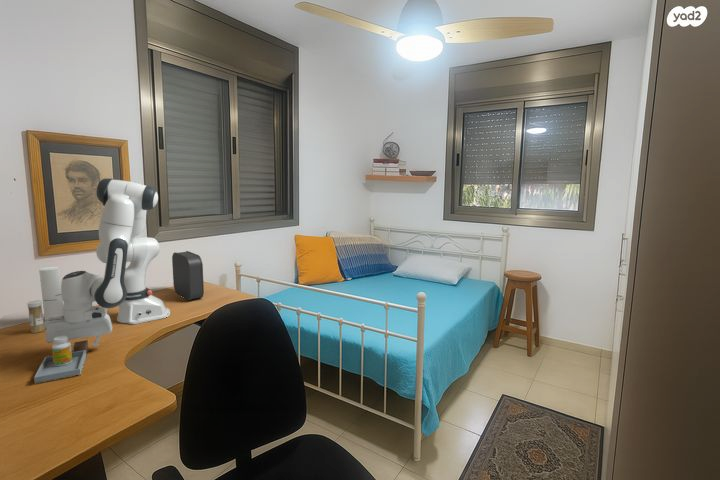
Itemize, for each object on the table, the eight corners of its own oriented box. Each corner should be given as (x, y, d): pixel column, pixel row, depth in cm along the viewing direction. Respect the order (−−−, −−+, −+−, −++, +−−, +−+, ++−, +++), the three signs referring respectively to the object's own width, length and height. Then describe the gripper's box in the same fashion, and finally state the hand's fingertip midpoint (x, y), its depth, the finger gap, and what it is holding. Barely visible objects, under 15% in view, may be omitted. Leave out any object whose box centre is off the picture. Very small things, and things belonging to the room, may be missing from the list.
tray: (86, 355, 140) (85, 349, 139) (80, 375, 126) (79, 369, 126) (45, 362, 134) (45, 356, 133) (34, 384, 120) (34, 377, 120)
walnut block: (88, 349, 145) (87, 340, 144) (87, 353, 141) (86, 344, 141) (75, 351, 143) (74, 342, 142) (74, 356, 139) (73, 346, 139)
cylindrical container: (68, 318, 174) (63, 267, 170) (51, 324, 168) (45, 271, 164) (58, 316, 177) (52, 266, 172) (41, 321, 170) (35, 269, 166)
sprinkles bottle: (43, 332, 159) (40, 302, 157) (29, 334, 157) (26, 304, 155) (45, 328, 163) (42, 299, 161) (31, 330, 160) (28, 300, 158)
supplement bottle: (51, 367, 130) (48, 341, 128) (55, 361, 134) (52, 335, 133) (70, 364, 132) (68, 339, 131) (74, 358, 137) (71, 333, 135)
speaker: (173, 292, 218) (171, 251, 214) (188, 289, 224) (186, 249, 220) (191, 302, 201) (189, 258, 197) (206, 299, 207) (204, 256, 203)
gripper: (41, 321, 132) (45, 357, 134) (109, 312, 142) (112, 345, 144) (45, 315, 137) (49, 350, 139) (110, 307, 147) (113, 339, 150)
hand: (82, 348), depth 142 cm, fingers open, 7 cm apart
